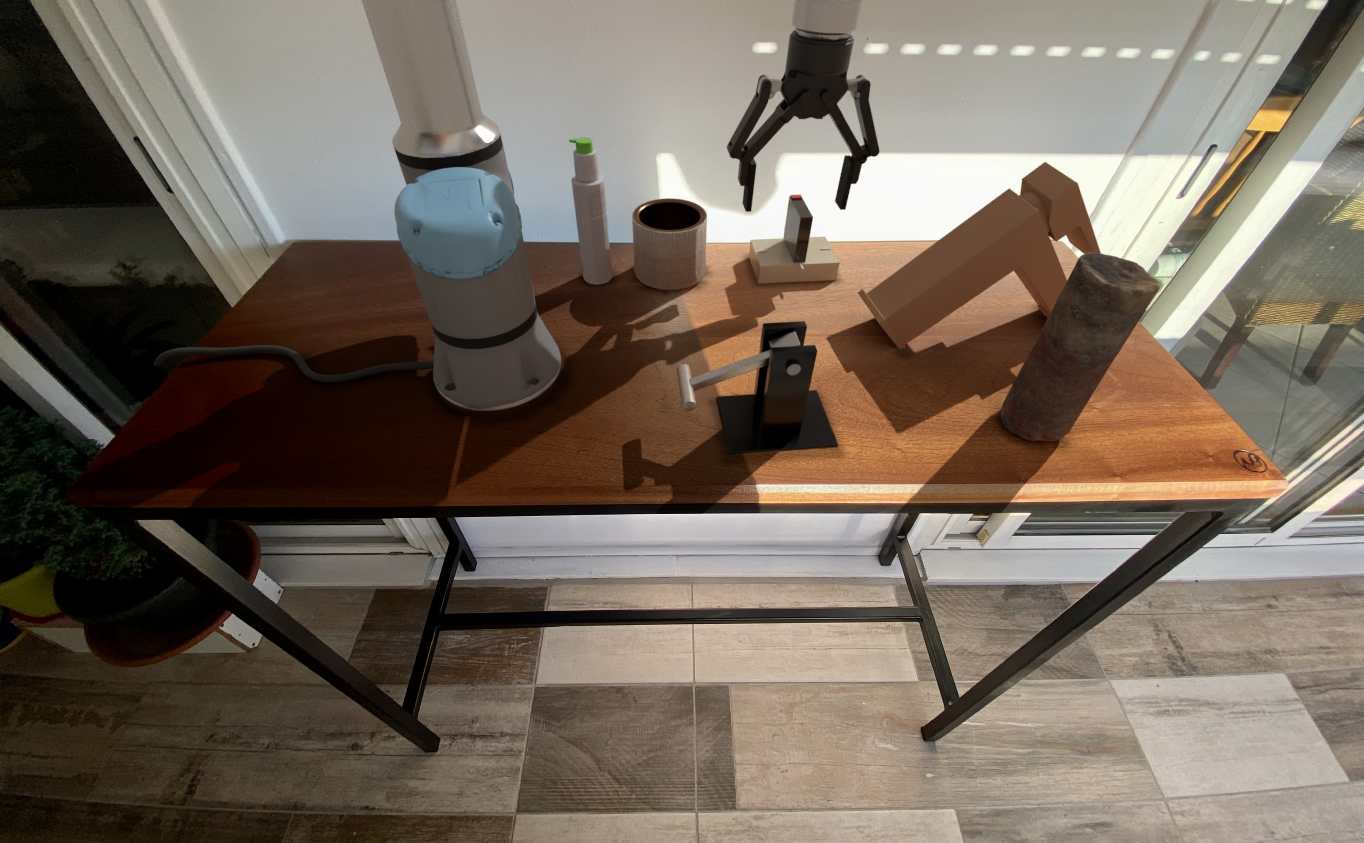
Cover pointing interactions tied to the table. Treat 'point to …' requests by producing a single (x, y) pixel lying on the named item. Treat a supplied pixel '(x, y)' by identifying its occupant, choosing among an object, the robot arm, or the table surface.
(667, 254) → the planter
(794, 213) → the red-tipped grey panel
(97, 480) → the table surface
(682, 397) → the tap lever
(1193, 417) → the table surface
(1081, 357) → the grey-brown thick cylinder
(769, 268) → the beige slotted base block
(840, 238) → the table surface
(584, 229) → the bottle
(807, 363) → the bracket
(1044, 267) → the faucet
